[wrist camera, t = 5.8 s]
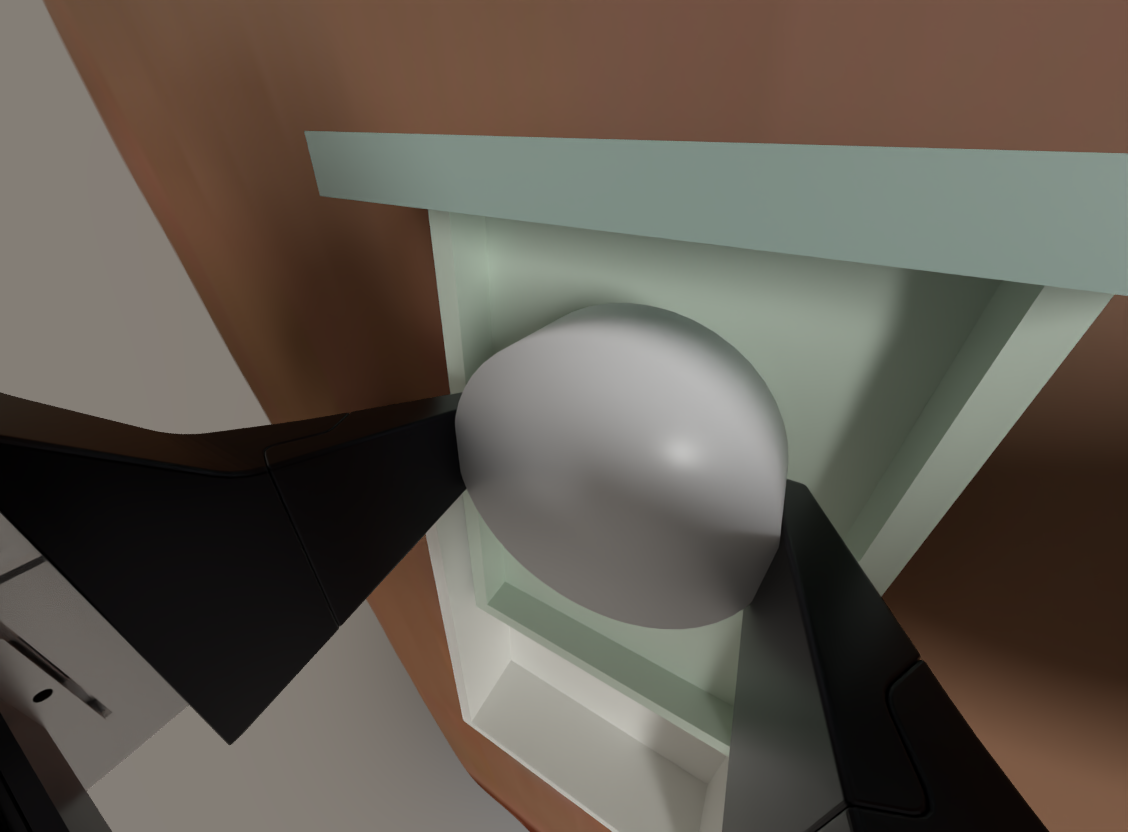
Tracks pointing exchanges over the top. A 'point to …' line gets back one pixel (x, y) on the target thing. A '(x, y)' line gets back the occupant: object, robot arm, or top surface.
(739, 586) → the dome
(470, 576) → the shallow white bin
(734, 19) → the top surface
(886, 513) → the drawer
